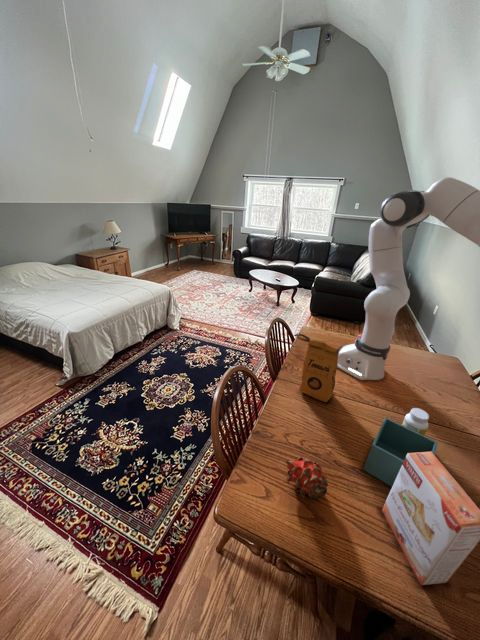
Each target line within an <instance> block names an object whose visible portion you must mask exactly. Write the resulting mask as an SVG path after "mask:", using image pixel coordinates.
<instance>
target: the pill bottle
mask: <svg viewBox="0 0 480 640" xmlns="http://www.w3.org/2000/svg"><path fill="white" fill-rule="evenodd" d="M429 418H430V415H429V414H428V413H427V411H425V410H424V409H422V408H418V407H413V408H411V409H410V411H409V413H406V414H405V416H404V419H403V421H402V424H401V425H403V426H405V427H407V428H409V429H411V430H413V431H415V432H417V433H419V434H421V435H423V436H426V433H427V430H428V428H429V422H428V420H429Z"/></svg>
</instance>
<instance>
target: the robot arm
mask: <svg viewBox="0 0 480 640" xmlns="http://www.w3.org/2000/svg"><path fill="white" fill-rule="evenodd" d="M379 214H380V217H381V218H379V219H376V220H375V221H373V222H372V223H371V225H370V227H369V230H368V231H369V233H368V260H369V261H368V262H369V272H370V274H371V275H372V278H373V279H374V280H373V281H374V282H375V287H376V289H374V290H372V291H371V292H370V293H369V294H368V295H367V296H366V297H365V300H364V303H363V304H364V305H363V307H364V308H363V309H364V311H365V320H364V325H363V329H362V333H360V334H358V335H357V336H356V338H355V340H354V343H351V344H347V345H344V346H339V347H338V348H339V355H338V361H337V362H338V365H337V369H339V370H341V371H343V372H345V373H346V374H348V375H350V376H351V377H353V378H356V379H357V380H360V381H366V380H369V381H370V380H371V381H379V380H382V379H383V378H385V376H386V375H385V367H386V361H387V359H388V357H389V354H390V350H391V343H392V340H393V337H394V334H395V330H396V328H395V323H396V316H397V314H398V312H399V311H400V309H401V308H403V307H404V306H406V305H407V303H408V301H409V299H410V296H411V292H410V288H409V287H408V282H407V279H406V273H405V270H404V259H403V258H404V255H403V254H404V253H403V238H402V237H403V232H404V231H405V229H410V228H412V227H413V226H416V225H418V224H420V223H422V222H424V221H425V220H426V219H428V218H429V217H430V216H431V217H434V218H435V219H437V220H438V221H440V222H441V223H443V224H444V225H445V226H446V227H448V228H449V229H451V230H453V231H454V232H456V233H457V234H458V235H461V236H462V237H464V238H466V239H467V240H468V241H470V242H472V243H473V244H475V245H477V246H478V247H479V248H480V189H478V188H476V187H475V186H472V185H471V184H469V183H467V182H464V181H463V180H460V179H457V178H454V177H442V178H441V179H439V180H436V181H435V182H434V183H433V184H432V185H430V187H429V188H428V189H427V190H425V191H424V190H416V189H412V190H411V189H410V190H403V191H402V190H401V191H397V192H395V193H393V194H391V195H389V196H388V197H387V198H386V199H385V200H384V201H383V202H382V204H381V207H380V213H379ZM298 334H299V335H298ZM293 336H294V337H297V336H298V337H303V338H305V339H306V340H307V341H310V339H311V338H310V337H309V336H307V335H305V334H302V333H296V334H294V335H293Z"/></svg>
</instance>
